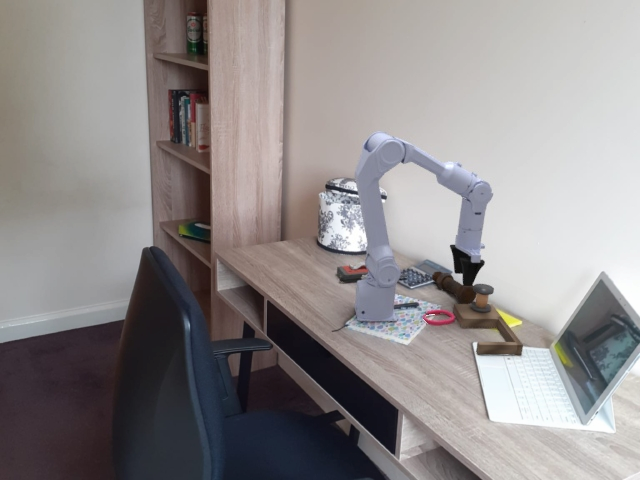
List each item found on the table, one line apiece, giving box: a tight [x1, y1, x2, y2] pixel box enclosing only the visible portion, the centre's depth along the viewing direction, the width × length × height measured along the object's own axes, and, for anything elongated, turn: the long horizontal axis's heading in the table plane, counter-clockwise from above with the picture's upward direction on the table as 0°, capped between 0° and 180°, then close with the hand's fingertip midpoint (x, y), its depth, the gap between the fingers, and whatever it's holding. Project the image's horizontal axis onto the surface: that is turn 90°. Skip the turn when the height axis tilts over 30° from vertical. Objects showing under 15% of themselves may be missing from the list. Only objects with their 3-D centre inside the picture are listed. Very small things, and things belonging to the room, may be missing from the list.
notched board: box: [452, 303, 524, 356], centre depth 139 cm, size 10×20×2 cm, turn 4°
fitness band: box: [422, 309, 456, 327], centre depth 144 cm, size 8×6×2 cm
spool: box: [470, 283, 495, 313], centre depth 145 cm, size 5×5×6 cm
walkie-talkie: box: [336, 261, 409, 284], centre depth 167 cm, size 9×4×20 cm
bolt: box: [431, 271, 477, 304], centre depth 159 cm, size 6×5×15 cm
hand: (463, 279), depth 147 cm, fingers open, 7 cm apart
